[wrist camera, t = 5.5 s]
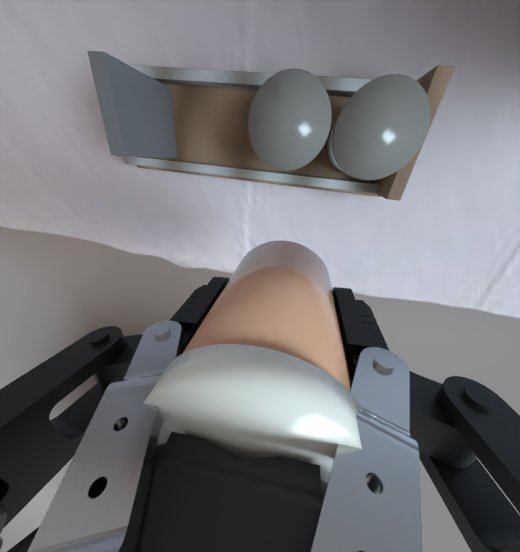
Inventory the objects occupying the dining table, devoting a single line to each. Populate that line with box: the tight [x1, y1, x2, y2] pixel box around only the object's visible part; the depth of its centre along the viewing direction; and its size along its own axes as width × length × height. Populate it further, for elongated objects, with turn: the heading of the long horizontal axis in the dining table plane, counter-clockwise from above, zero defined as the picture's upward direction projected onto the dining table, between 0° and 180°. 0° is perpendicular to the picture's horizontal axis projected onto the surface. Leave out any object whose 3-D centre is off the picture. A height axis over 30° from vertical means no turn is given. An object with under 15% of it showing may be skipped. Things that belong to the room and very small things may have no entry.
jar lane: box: [124, 65, 455, 200], centre depth 20 cm, size 28×9×6 cm, turn 85°
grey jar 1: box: [248, 69, 332, 171], centre depth 17 cm, size 6×6×8 cm
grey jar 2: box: [326, 74, 430, 180], centre depth 17 cm, size 6×6×8 cm
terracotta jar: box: [144, 241, 362, 482], centre depth 8 cm, size 6×6×8 cm
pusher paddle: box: [88, 51, 177, 158], centre depth 19 cm, size 1×6×8 cm, turn 175°
